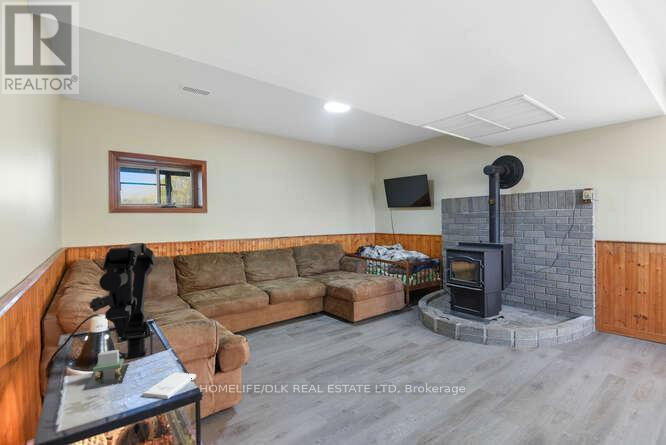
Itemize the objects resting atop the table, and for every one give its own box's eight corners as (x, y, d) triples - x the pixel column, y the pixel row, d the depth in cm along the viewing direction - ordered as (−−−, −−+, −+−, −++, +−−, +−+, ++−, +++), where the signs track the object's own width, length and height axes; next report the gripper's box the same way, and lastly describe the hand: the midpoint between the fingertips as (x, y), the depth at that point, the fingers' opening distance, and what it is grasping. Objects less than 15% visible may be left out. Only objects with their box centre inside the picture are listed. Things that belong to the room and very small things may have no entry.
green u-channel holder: (97, 365, 102) (97, 351, 102) (123, 361, 105) (123, 347, 105) (93, 372, 97) (92, 357, 97) (120, 367, 100) (120, 353, 100)
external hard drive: (196, 379, 99) (168, 400, 87) (173, 377, 101) (142, 398, 89) (196, 373, 99) (167, 394, 87) (173, 372, 101) (142, 392, 89)
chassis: (96, 371, 105) (96, 361, 105) (128, 366, 109) (128, 356, 109) (85, 389, 93) (85, 378, 93) (122, 382, 97) (122, 371, 97)
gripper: (99, 283, 110) (99, 328, 110) (83, 293, 93) (84, 346, 93) (136, 280, 115) (137, 323, 115) (128, 289, 98) (129, 340, 98)
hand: (122, 332), depth 105 cm, fingers open, 9 cm apart
